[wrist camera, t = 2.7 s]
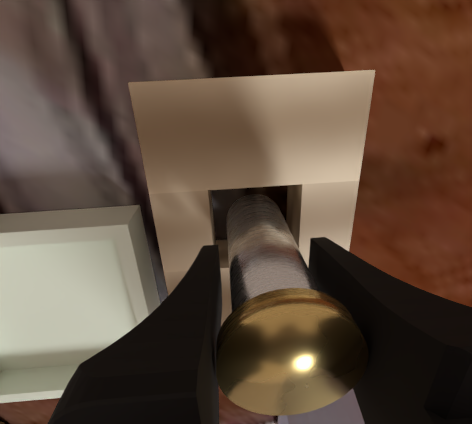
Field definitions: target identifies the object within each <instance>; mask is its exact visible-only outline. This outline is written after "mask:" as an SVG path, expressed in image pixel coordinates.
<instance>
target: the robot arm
mask: <svg viewBox="0 0 472 424" xmlns="http://www.w3.org/2000/svg"><path fill="white" fill-rule="evenodd" d="M308 269H309V271H310V273H311V275H312V277H313V279H314V281H315V283H316V285H317V287H318V290H319V291H320V292H323V293H326V294H328V295H330V296H332V297H334V298H335V299H337V300H338V301H340V302H341V303H342V304H343V305H344V306H345V307H346V308H347V310H348V311H349V312H350V314H351V316H352V317H353V319H354V321H355V323H356V324H357V326H358V328H359V330H360V331H361V333H362V335H363V337H364V339H365V341H366V343H367V347H368V355H369V356H368V363H367V366H366V370H365V372H364V374H363V376H362V377H361V379H360V380H359V381H358V383H357V384H356V385H355V386H354V387H353V388H352V389H351V390H350V391H349V392H348V393H347V394H345V395H344V396H342V397H341V398H340V399H338V400H336V401H335V402H333V403H331V404H329V405H327V406H325V407H322V408H319V409H317V410H313V411H310V412H306V413H301V414H295V415H283V416H278V424H472V307H469V306H465V305H462V304H459V303H456V302H453V301H450V300H448V299H445V298H442V297H440V296H437V295H434V294H432V293H429V292H426V291H424V290H421V289H419V288H417V287H414V286H412V285H410V284H408V283H405V282H403V281H401V280H399V279H397V278H395V277H393V276H391V275H389V274H387V273H385V272H383V271H381V270H379V269H377V268H376V267H374V266H372V265H370V264H369V263H367V262H365V261H363V260H362V259H360V258H358V257H357V256H355V255H354V254H352V253H350V252H349V251H347V250H346V249H344V248H343V247H341V246H339V245H338V244H336V243H335V242H333V241H331V240H330V239H328V238H326V237H318V238H311V239H310V252H309V265H308ZM221 318H222V283H221V271H220V259H219V247H218V245H204V246H203V247H202V248H201V249H200V251H199V253H198V255H197V257H196V259H195V260H194V262H193V264H192V265H191V267H190V268H189V270H188V271H187V273H186V274H185V276H184V277H183V278H182V280H181V281H180V282H179V283H178V285H177V286H176V287H175V289H174V290H173V291H172V292H171V293H170V295H169V296H168V297H167V298H166V299H165V300H164V301H163V302H162V303H161V304H160V305H159V306H158V307H157V308H156V309H155V310H154V311H153V312H152V313H151V314H150V315H149V316H147V317H146V318H145V319H144V320H143V321H142V322H141V323H139V324H138V325H137V326H136V327H134V328H133V329H132V330H131V331H129V332H128V333H127V334H125V335H124V336H122V337H121V338H120V339H118V340H117V341H115V342H114V343H112V344H111V345H110V346H108V347H106V348H105V349H103V350H102V351H100V352H98V353H97V354H95V355H94V356H92V357H91V358H89V359H87V360H86V361H84V362H82V363H81V364H79V366H78V368H77V369H76V371H75V373H74V374H73V376H72V377H71V379H70V381H69V382H68V384H67V386H66V388H65V390H64V392H63V394H62V396H61V398H60V400H59V402H58V404H57V406H56V408H55V410H54V412H53V414H52V416H51V418H50V420H49V422H48V424H219V390H218V381H217V377H216V341H217V336H218V333H219V330H220V328H221Z"/></svg>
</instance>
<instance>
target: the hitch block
mask: <svg viewBox="0 0 472 424" xmlns="http://www.w3.org/2000/svg"><path fill="white" fill-rule="evenodd" d="M374 76H375V70H364V71H344V72H324V73H304V74H284V75H265V76H245V77H225V78H205V79H185V80H166V81H146V82H128V86H129V91H130V96H131V102H132V107H133V112H134V117H135V123H136V128H137V133H138V139H139V144H140V149H141V154H142V160H143V165H144V170H145V175H146V181H147V186H148V191H149V197H150V202H151V207H152V212H153V218H154V223H155V228H156V234H157V239H158V244H159V249H160V255H161V260H162V265H163V271H164V276H165V281H166V286H167V292H168V296H169V295H170V293H171V292H172V291H173V290H174V289H175V287H176V286H177V285H178V283H179V282H180V281H181V280H182V278H183V277H184V276H185V274H186V273H187V271H188V270H189V268H190V267H191V265H192V264H193V262H194V260H195V259H196V257H197V255H198V253H199V251H200V249H201V248H202V247H203V246H204V245H218V247H219V259H220V271H221V283H222V318H221V326H222V324H223V322H224V321H225V320H226V318H227V317H228V316H229V315H230V314H231V313H232V307H231V290H230V274H229V257H228V240H227V239H226V240H216V239H215V228H214V216H213V205H212V194H211V190H221V189H237V188H252V187H268V186H283V185H288V187H287V218H286V223H287V225H288V228H289V230H290V232H291V234H292V236H293V238H294V240H295V242H296V244H297V246H298V248H299V250H300V252H301V254H302V256H303V259H304V261H305V263H306V265H307V267H308V265H309V252H310V239H311V238H318V237H326V238H328V239H330V240H331V241H333V242H335V243H336V244H338V245H339V246H341V247H343V248H344V249H346V250H347V251H349V247H350V240H351V233H352V227H353V220H354V213H355V206H356V199H357V192H358V185H359V178H360V172H361V165H362V158H363V151H364V144H365V137H366V130H367V124H368V117H369V110H370V103H371V96H372V89H373V82H374Z"/></svg>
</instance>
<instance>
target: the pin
mask: <svg viewBox="0 0 472 424" xmlns="http://www.w3.org/2000/svg"><path fill="white" fill-rule="evenodd" d="M226 223H227V240H228V257H229V274H230V290H231V307H232V313H231V314H230V315H229V316H228V317H227V318H226V320H225V321H224V322H223V324H222V326H221V328H220V330H219V333H218V336H217V341H216V377H217V381H218V384H219V386H220V388H221V390H222V392H223V393H224V394H225V395H226V396H227V397H228V399H230V400H231V401H232V402H233V403H235V404H237V405H238V406H240V407H242V408H244V409H246V410H249V411H252V412H255V413H260V414H265V415H278V416H283V415H295V414H301V413H306V412H310V411H313V410H317V409H319V408H322V407H325V406H327V405H329V404H331V403H333V402H335V401H336V400H338V399H340V398H341V397H342V396H344V395H345V394H347V393H348V392H349V391H350V390H351V389H352V388H353V387H354V386H355V385H356V384H357V383H358V381H359V380H360V379H361V377H362V376H363V374H364V372H365V370H366V366H367V363H368V356H369V355H368V347H367V343H366V341H365V339H364V337H363V335H362V333H361V331H360V330H359V328H358V326H357V324H356V323H355V321H354V319H353V317H352V316H351V314H350V312H349V311H348V310H347V308H346V307H345V306H344V305H343V304H342V303H341V302H340V301H338V300H337V299H335V298H334V297H332V296H330V295H328V294H326V293H323V292H320V291H319V290H318V287H317V285H316V283H315V281H314V279H313V277H312V275H311V273H310V271H309V269H308V267H307V265H306V263H305V261H304V259H303V256H302V254H301V252H300V250H299V248H298V246H297V244H296V242H295V240H294V238H293V236H292V234H291V232H290V230H289V228H288V225H287V223H286V221H285V219H284V217H283V215H282V213H281V211H280V209H279V207H278V205H277V204H276V203H275V202H274V201H273V200H272V199H271V198H269V197H267V196H264V195H259V194H251V195H246V196H244V197H242V198H240V199H238V200H237V201H235V202H234V203H233V205H232V206H231V207H230V209H229V211H228V213H227V218H226Z"/></svg>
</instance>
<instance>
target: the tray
mask: <svg viewBox="0 0 472 424" xmlns="http://www.w3.org/2000/svg"><path fill="white" fill-rule="evenodd" d="M159 305H160V300H159V295H158V290H157V285H156V281H155V276H154V271H153V266H152V261H151V257H150V252H149V247H148V242H147V237H146V232H145V228H144V223H143V218H142V213H141V208H140V205H132V206H117V207H101V208H86V209H71V210H55V211H40V212H25V213H9V214H0V403H6V402H18V401H29V400H41V399H52V398H61V396H62V394H63V392H64V390H65V388H66V386H67V384H68V382H69V381H70V379H71V377H72V376H73V374H74V373H75V371H76V369H77V368H78V366H79V364H81V363H82V362H84V361H86V360H87V359H89V358H91V357H92V356H94V355H95V354H97V353H98V352H100V351H102V350H103V349H105V348H106V347H108V346H110V345H111V344H112V343H114V342H115V341H117V340H118V339H120V338H121V337H122V336H124V335H125V334H127V333H128V332H129V331H131V330H132V329H133V328H134V327H136V326H137V325H138V324H139V323H141V322H142V321H143V320H144V319H145V318H146V317H147V316H149V315H150V314H151V313H152V312H153V311H154V310H155V309H156V308H157V307H158V306H159Z"/></svg>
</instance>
